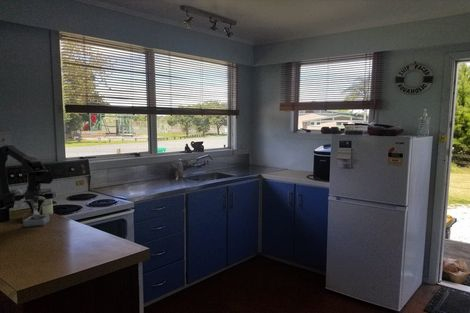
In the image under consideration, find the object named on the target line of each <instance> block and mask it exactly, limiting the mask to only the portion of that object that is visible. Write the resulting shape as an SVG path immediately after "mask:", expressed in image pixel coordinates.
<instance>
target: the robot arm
mask: <svg viewBox="0 0 470 313" xmlns="http://www.w3.org/2000/svg"><path fill="white" fill-rule="evenodd" d="M9 157H11V158H12V159H14V160H16V161H17V162H18V163H20V164H21V167H22V168H23V169H24V170H25V172H24V173H23V175H25V176H26V179H27V186H26V190H25V192H23V193H17V194H15V192H12V191H11V190H10V187H9V186H10V185H9V180H8V175H7V167H6V164H7V161H8V158H9ZM53 179H54V176H53V175H52V173H50V170H46V168H45V166H44V165H43V163H42V162H41V159H39V158H36V157H33V156H29V155H27V154H25V153H24V152H22V151H21V150H19V149H18V148H16V146H14V145H13V144H6V145H5V144H4V145H2V146H0V221H1V222H10V220H12V219H14V217H13V216H11V209H14V208H15V204H16V202H20V201H22V200H23V203H26V204H27V205H28V207H29V209H30V211H32V213H34V212H33V208H34V201H33V200H34V199H36V198H39V200H37V201H38V212H40V210H41V207H42V204H43V202H44V200H46V199H52V200H54V198H56V197H57V194H56V192H55V191H52V192H47V193H45V194H41V193H42V191H41V189H42V188H41V187H42V184H43V185H50V184H51V183H52V182H53V181H54V180H53Z"/></svg>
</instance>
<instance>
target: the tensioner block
mask: <svg viewBox="0 0 470 313" xmlns="http://www.w3.org/2000/svg"><path fill="white" fill-rule="evenodd" d="M30 216H34V213H32V211H31V210H30V211H29V212H27V213H26V214H23V215H22V217H21V220H22V223H23V221H24V220H26V219H27V218H29V217H30ZM39 216H40V212H39Z"/></svg>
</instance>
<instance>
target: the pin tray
mask: <svg viewBox="0 0 470 313" xmlns="http://www.w3.org/2000/svg"><path fill="white" fill-rule="evenodd" d="M50 218H51V216H50V215H43V216H39V219H36V220H35V219H34V216H30V217H29V218H27V219H26V220H24V221H23V222H22V223H23V228H25V227H26V228H27V227H40V226H42V227H43V226H45V225H46V224H48V223H49V222H50V221H51V220H50Z"/></svg>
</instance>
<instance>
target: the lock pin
mask: <svg viewBox="0 0 470 313" xmlns="http://www.w3.org/2000/svg"><path fill="white" fill-rule="evenodd" d="M33 212H34V219H35V220H36V219H39V212H38V207H35V208H33Z"/></svg>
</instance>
